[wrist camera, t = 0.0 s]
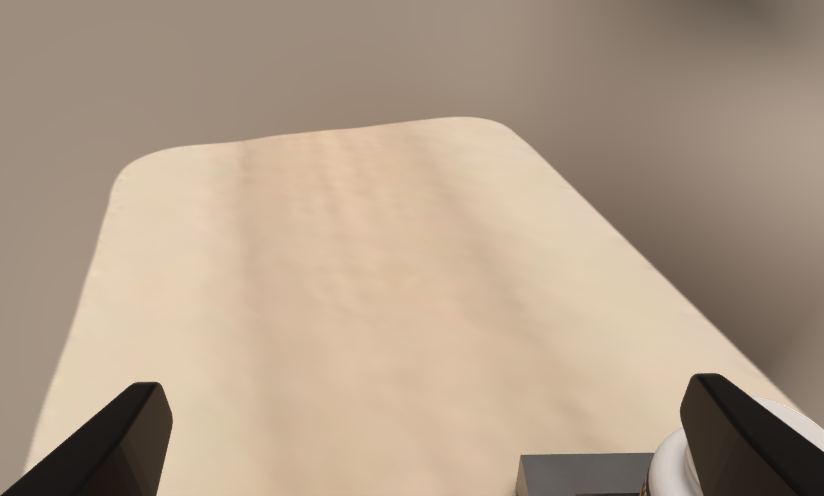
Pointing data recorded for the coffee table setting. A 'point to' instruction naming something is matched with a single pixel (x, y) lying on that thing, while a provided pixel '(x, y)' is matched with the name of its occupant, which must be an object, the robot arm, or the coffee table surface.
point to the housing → (582, 474)
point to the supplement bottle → (673, 465)
